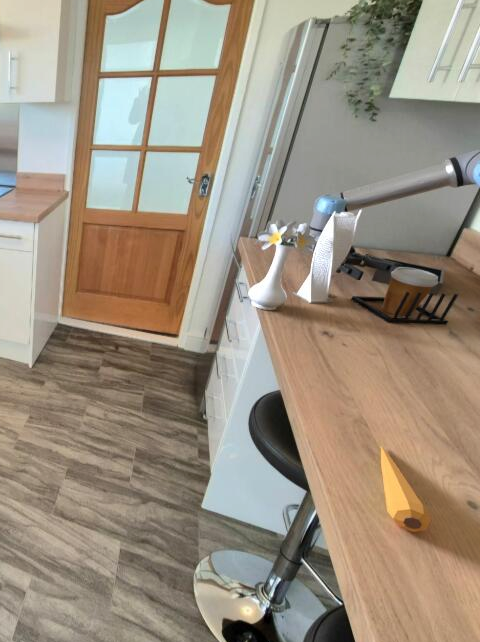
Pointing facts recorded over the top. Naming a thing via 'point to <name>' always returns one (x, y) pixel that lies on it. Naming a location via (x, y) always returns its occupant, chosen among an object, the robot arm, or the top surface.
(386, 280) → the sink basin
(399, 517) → the carrot
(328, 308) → the top surface
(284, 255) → the flower vase
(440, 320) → the dish rack
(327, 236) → the skyscraper
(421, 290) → the disposable coffee cup
